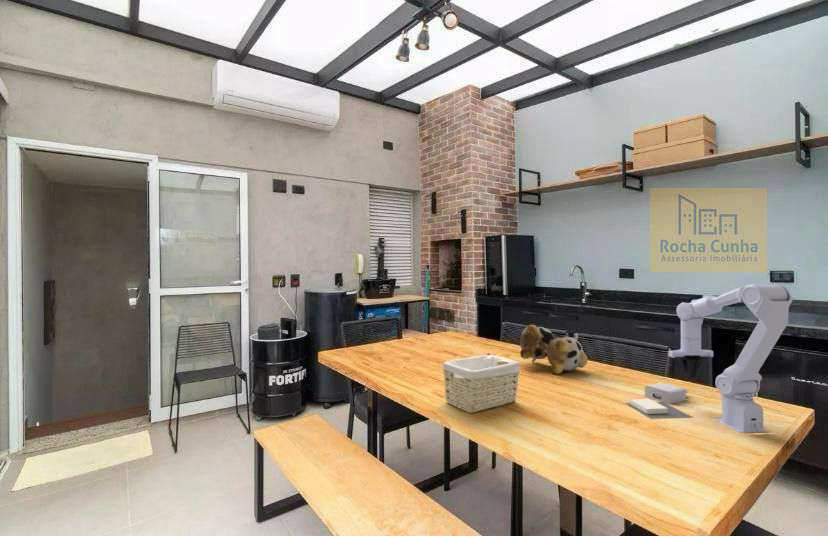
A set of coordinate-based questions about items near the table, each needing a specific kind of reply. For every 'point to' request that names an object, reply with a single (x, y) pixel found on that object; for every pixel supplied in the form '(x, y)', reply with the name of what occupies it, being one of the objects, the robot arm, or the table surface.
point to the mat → (671, 414)
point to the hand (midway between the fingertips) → (690, 377)
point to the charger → (665, 393)
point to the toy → (552, 349)
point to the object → (480, 382)
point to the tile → (648, 406)
